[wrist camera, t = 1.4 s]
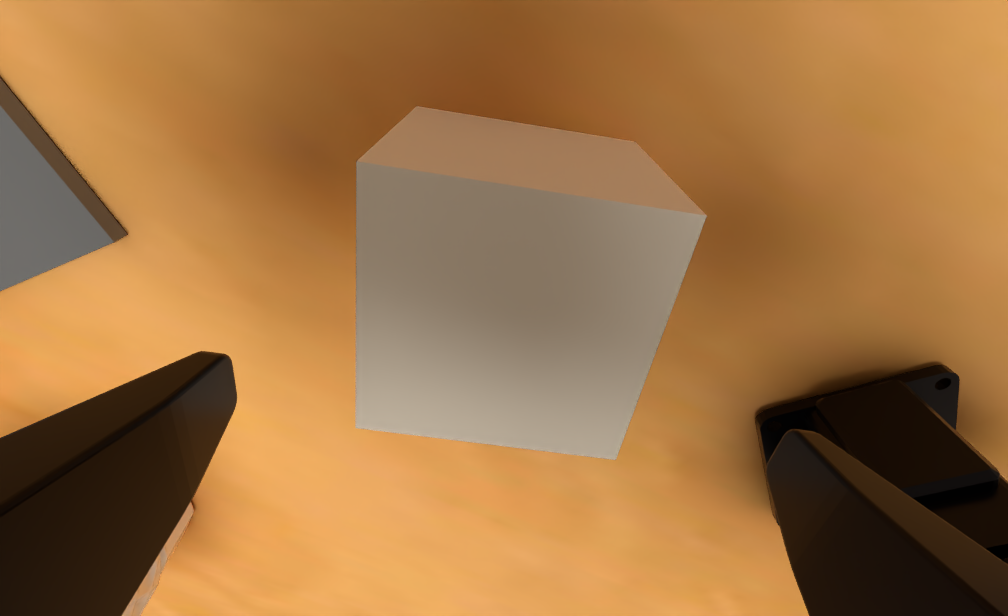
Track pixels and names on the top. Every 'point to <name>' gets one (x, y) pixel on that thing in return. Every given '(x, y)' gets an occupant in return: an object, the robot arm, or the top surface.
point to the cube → (512, 281)
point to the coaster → (42, 201)
